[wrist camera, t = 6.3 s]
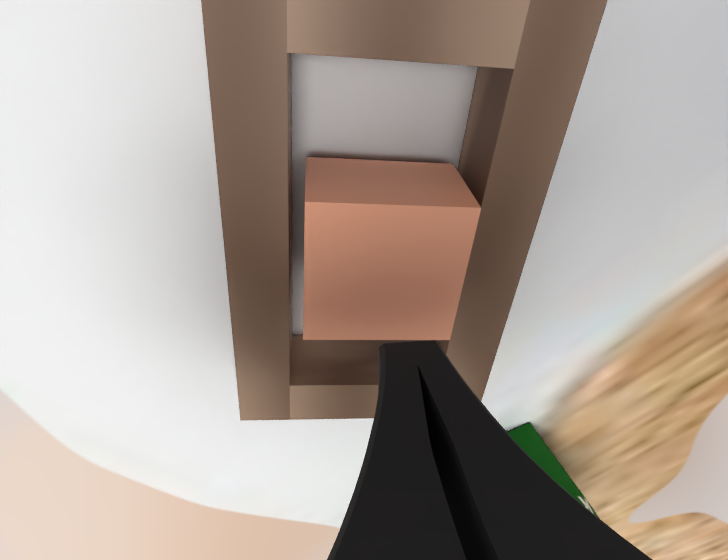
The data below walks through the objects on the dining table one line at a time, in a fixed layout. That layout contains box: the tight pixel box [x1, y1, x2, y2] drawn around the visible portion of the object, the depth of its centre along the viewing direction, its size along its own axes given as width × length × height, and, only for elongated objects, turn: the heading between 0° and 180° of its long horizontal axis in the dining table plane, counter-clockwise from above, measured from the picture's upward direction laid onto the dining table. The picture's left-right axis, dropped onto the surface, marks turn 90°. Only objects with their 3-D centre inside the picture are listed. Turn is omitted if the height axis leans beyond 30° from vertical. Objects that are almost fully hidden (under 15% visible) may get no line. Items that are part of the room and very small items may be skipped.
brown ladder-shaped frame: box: [201, 0, 607, 420], centre depth 13 cm, size 10×30×3 cm, turn 175°
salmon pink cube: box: [303, 157, 481, 340], centre depth 16 cm, size 5×5×3 cm
